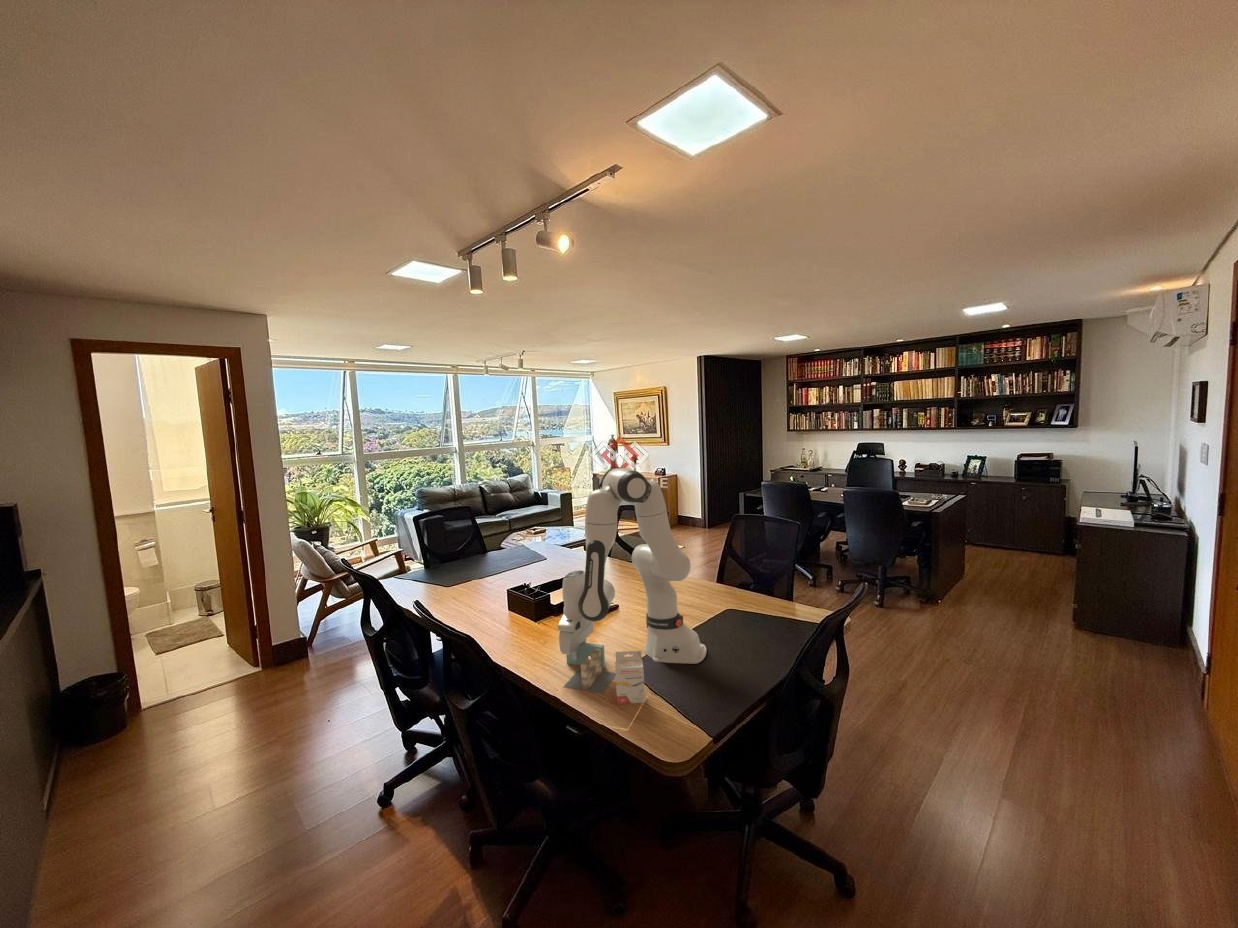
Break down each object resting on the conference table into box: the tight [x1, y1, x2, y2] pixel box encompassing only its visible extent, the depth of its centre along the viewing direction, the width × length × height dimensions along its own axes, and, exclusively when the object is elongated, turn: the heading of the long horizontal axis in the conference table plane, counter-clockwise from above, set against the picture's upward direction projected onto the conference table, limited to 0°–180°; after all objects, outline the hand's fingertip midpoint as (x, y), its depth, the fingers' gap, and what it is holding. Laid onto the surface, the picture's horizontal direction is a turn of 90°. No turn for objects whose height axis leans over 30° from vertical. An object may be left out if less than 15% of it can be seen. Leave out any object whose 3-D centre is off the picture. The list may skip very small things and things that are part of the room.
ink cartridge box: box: [614, 650, 646, 705], centre depth 151 cm, size 9×5×15 cm, turn 92°
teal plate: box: [565, 642, 606, 670], centre depth 174 cm, size 14×2×8 cm, turn 69°
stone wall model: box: [580, 649, 603, 691], centre depth 163 cm, size 12×2×8 cm, turn 159°
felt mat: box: [563, 667, 616, 695], centre depth 164 cm, size 14×13×1 cm
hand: (578, 655), depth 175 cm, fingers open, 4 cm apart
